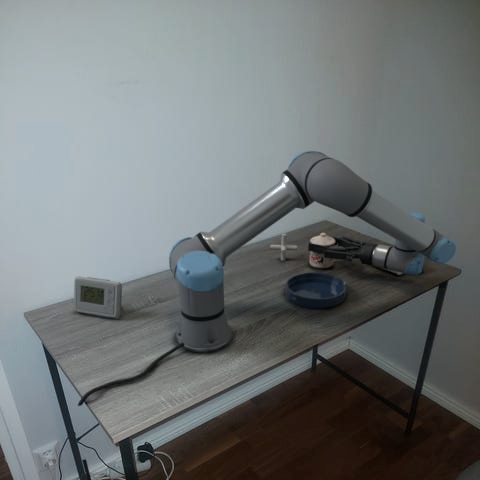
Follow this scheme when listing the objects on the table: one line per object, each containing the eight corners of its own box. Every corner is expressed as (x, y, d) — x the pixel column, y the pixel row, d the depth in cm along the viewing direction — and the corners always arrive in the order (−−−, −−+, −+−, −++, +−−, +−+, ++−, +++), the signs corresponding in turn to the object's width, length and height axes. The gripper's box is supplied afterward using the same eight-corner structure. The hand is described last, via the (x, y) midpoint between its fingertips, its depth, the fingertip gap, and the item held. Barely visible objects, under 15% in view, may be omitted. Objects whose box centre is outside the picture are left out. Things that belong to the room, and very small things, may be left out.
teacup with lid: (303, 263, 166) (305, 233, 160) (320, 256, 171) (322, 227, 165) (328, 273, 158) (331, 242, 152) (345, 266, 163) (348, 235, 157)
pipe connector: (296, 255, 175) (297, 230, 170) (296, 265, 166) (297, 239, 161) (270, 254, 176) (271, 229, 171) (269, 264, 167) (270, 239, 162)
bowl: (337, 313, 135) (338, 303, 134) (277, 301, 142) (277, 292, 140) (350, 287, 150) (351, 278, 149) (295, 277, 157) (296, 268, 155)
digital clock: (71, 312, 138) (64, 281, 133) (93, 300, 145) (87, 269, 139) (110, 325, 131) (104, 292, 126) (131, 311, 138) (126, 280, 132)
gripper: (362, 276, 146) (300, 262, 157) (384, 254, 162) (326, 243, 173) (364, 255, 143) (301, 241, 154) (387, 235, 158) (328, 224, 169)
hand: (314, 242), depth 163 cm, fingers closed on teacup with lid, 9 cm apart
